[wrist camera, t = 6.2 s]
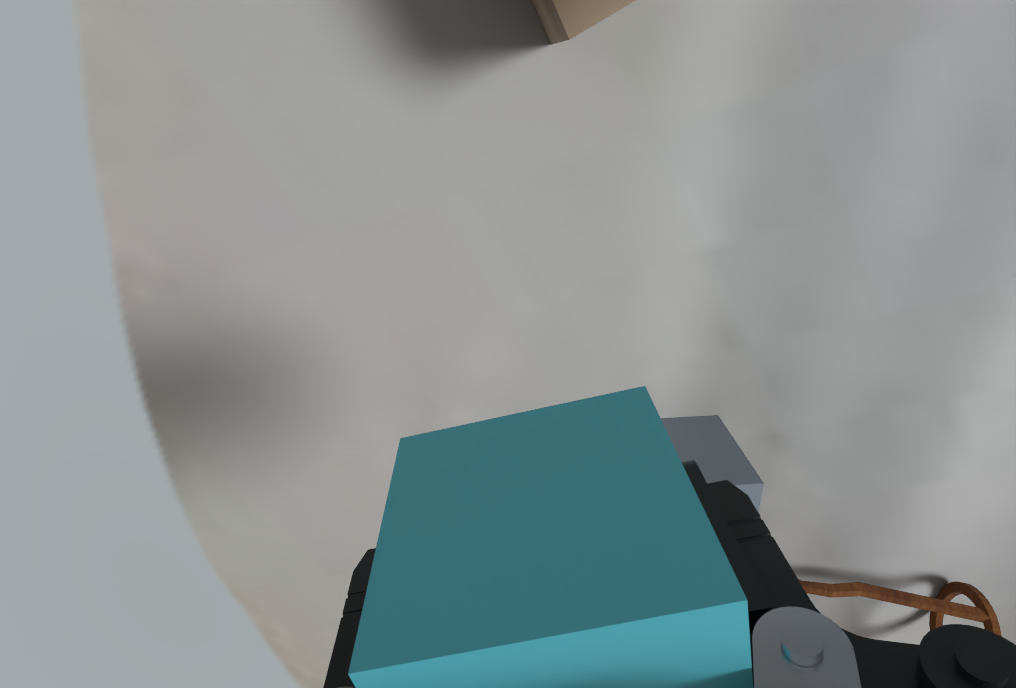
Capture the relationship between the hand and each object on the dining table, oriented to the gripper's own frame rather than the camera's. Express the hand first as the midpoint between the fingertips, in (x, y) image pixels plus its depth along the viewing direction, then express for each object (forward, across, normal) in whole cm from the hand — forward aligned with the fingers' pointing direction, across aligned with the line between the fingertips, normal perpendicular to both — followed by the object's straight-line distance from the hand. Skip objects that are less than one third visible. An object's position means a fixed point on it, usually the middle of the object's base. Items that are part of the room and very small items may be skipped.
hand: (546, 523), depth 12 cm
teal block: (0, 0, 0) cm, 0 cm away
